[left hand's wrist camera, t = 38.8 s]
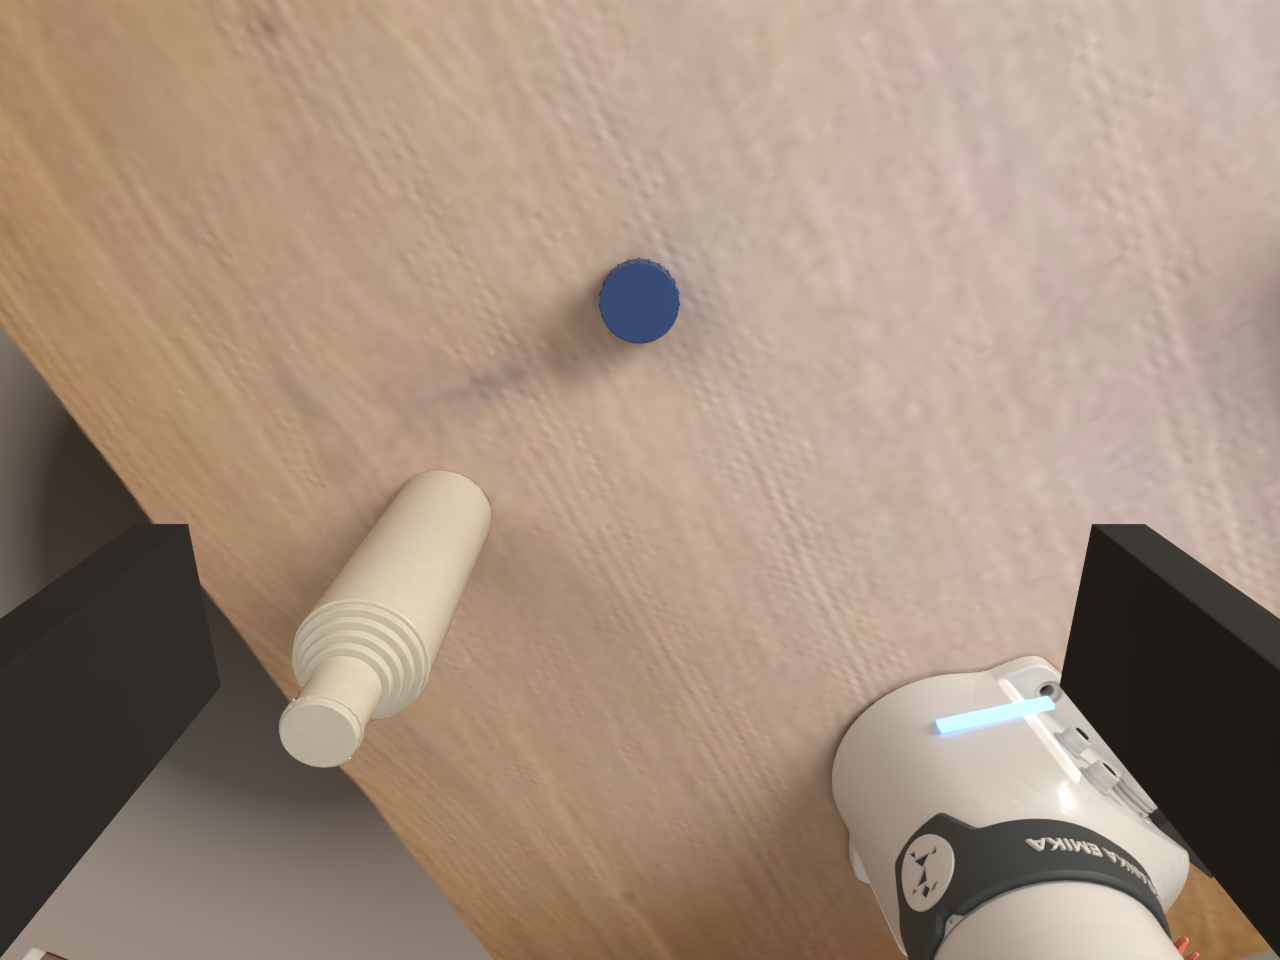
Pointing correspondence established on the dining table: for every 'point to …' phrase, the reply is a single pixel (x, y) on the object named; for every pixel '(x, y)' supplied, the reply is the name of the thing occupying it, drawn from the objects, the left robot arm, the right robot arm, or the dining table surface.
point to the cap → (639, 301)
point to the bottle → (384, 617)
